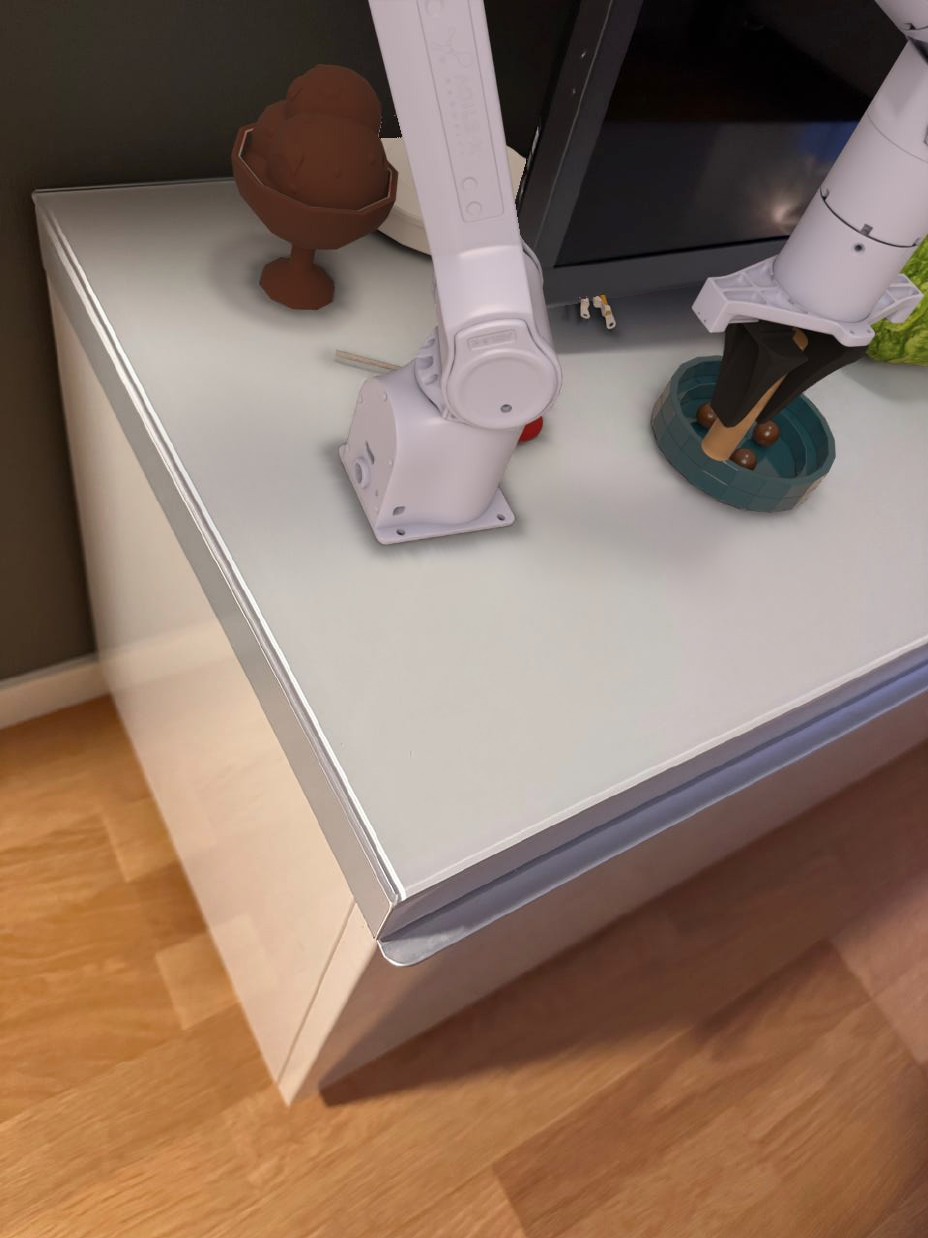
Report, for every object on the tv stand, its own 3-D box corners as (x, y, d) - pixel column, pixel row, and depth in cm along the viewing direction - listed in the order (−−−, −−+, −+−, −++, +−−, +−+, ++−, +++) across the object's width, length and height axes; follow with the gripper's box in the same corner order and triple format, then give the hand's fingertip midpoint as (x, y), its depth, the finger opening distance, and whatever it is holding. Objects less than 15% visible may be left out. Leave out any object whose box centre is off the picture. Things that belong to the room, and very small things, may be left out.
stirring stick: (711, 462, 59) (788, 347, 52) (695, 439, 60) (769, 323, 53) (735, 459, 60) (815, 346, 53) (719, 436, 61) (795, 322, 54)
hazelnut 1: (699, 435, 72) (712, 415, 70) (686, 416, 73) (698, 396, 71) (720, 433, 72) (733, 413, 71) (706, 414, 73) (719, 394, 72)
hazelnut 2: (732, 482, 69) (746, 463, 68) (718, 462, 70) (732, 443, 69) (753, 479, 70) (767, 460, 69) (739, 459, 71) (752, 440, 70)
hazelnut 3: (756, 453, 72) (770, 434, 71) (742, 434, 73) (756, 415, 72) (775, 450, 73) (789, 431, 72) (762, 432, 74) (775, 413, 73)
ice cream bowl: (207, 235, 70) (224, 18, 58) (354, 245, 74) (396, 45, 63) (232, 331, 65) (255, 114, 53) (388, 336, 69) (441, 136, 57)
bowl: (707, 528, 66) (732, 494, 64) (619, 396, 72) (639, 360, 70) (841, 504, 72) (869, 473, 70) (749, 384, 78) (772, 351, 76)
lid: (594, 224, 86) (606, 193, 83) (450, 290, 74) (460, 256, 71) (453, 126, 90) (461, 93, 87) (297, 173, 78) (301, 137, 76)
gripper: (809, 264, 42) (674, 474, 53) (1016, 261, 49) (859, 450, 59) (729, 171, 46) (617, 386, 56) (932, 180, 52) (797, 372, 63)
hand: (737, 414), depth 58 cm, fingers closed on stirring stick, 2 cm apart
